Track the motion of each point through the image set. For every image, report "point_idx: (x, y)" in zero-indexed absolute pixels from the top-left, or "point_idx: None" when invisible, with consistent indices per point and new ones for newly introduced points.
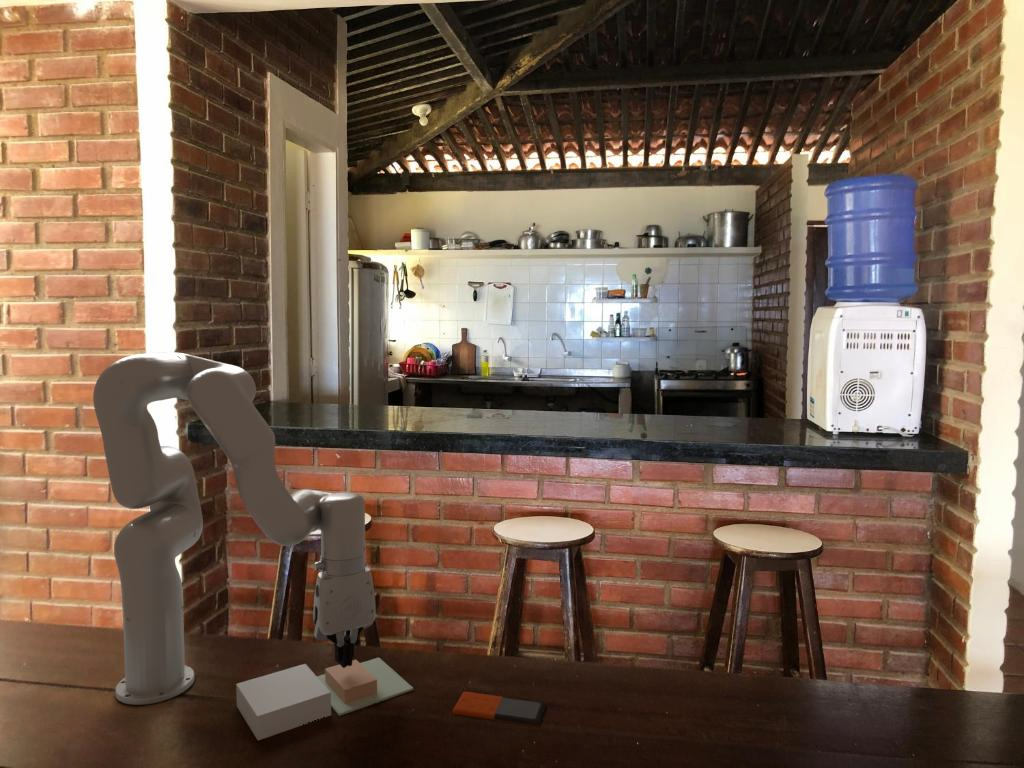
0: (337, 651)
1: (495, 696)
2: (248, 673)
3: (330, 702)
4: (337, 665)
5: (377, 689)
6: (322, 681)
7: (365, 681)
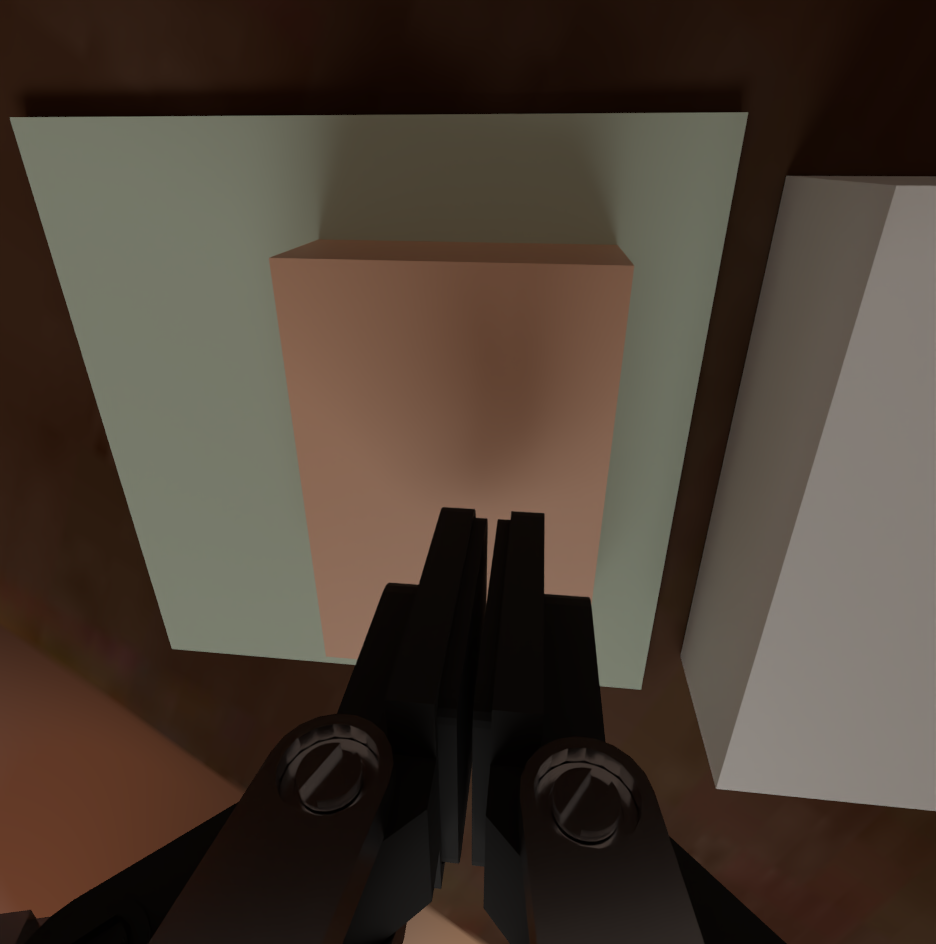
0: (595, 711)
1: None
2: (843, 893)
3: (841, 182)
4: None
5: None
6: None
7: (383, 296)
